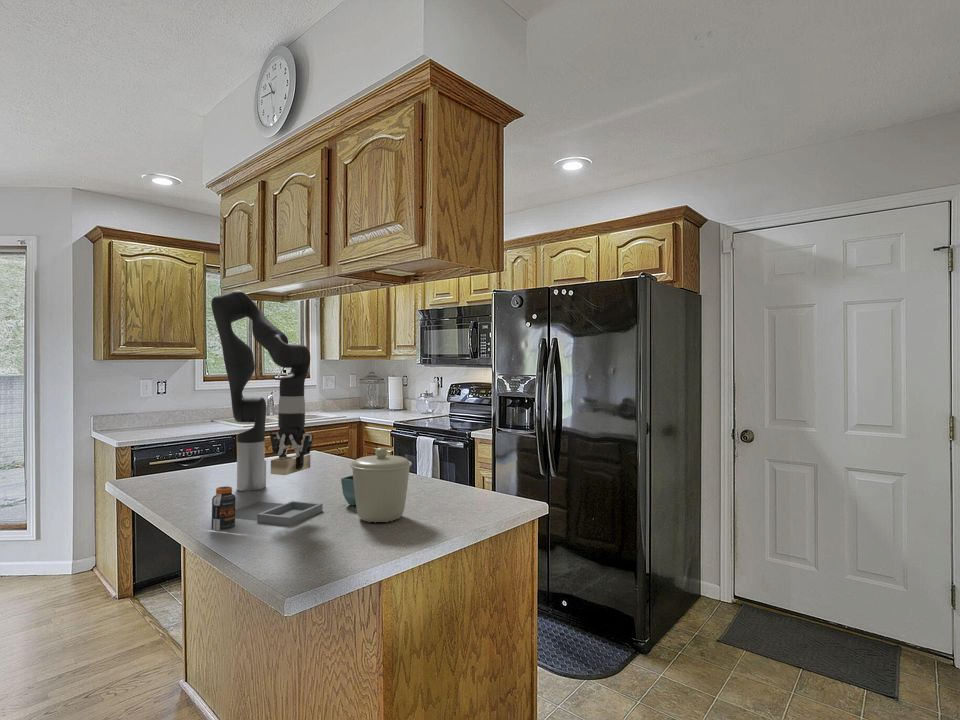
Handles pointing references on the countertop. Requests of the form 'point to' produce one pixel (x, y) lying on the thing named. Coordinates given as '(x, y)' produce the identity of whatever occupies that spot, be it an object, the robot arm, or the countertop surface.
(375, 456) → the canister
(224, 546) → the countertop surface
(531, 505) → the countertop surface
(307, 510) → the slate tray
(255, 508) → the rubber mat
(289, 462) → the wooden block
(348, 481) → the flower pot
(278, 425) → the robot arm
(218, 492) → the pill bottle
